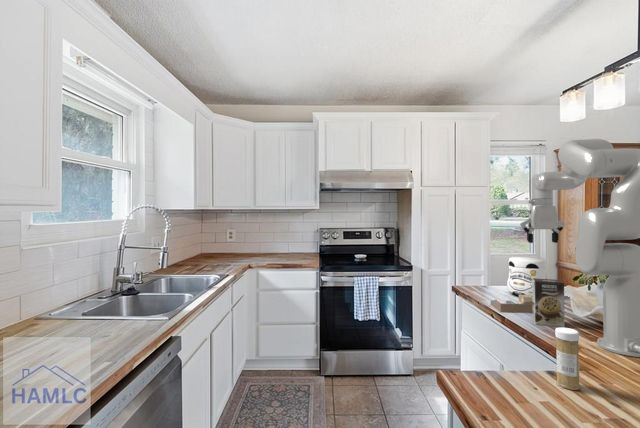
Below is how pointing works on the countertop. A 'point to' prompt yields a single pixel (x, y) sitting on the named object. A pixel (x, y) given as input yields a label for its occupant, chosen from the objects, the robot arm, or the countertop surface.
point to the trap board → (512, 307)
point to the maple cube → (525, 299)
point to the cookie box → (548, 302)
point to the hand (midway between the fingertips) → (542, 242)
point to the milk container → (524, 274)
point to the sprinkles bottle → (567, 358)
